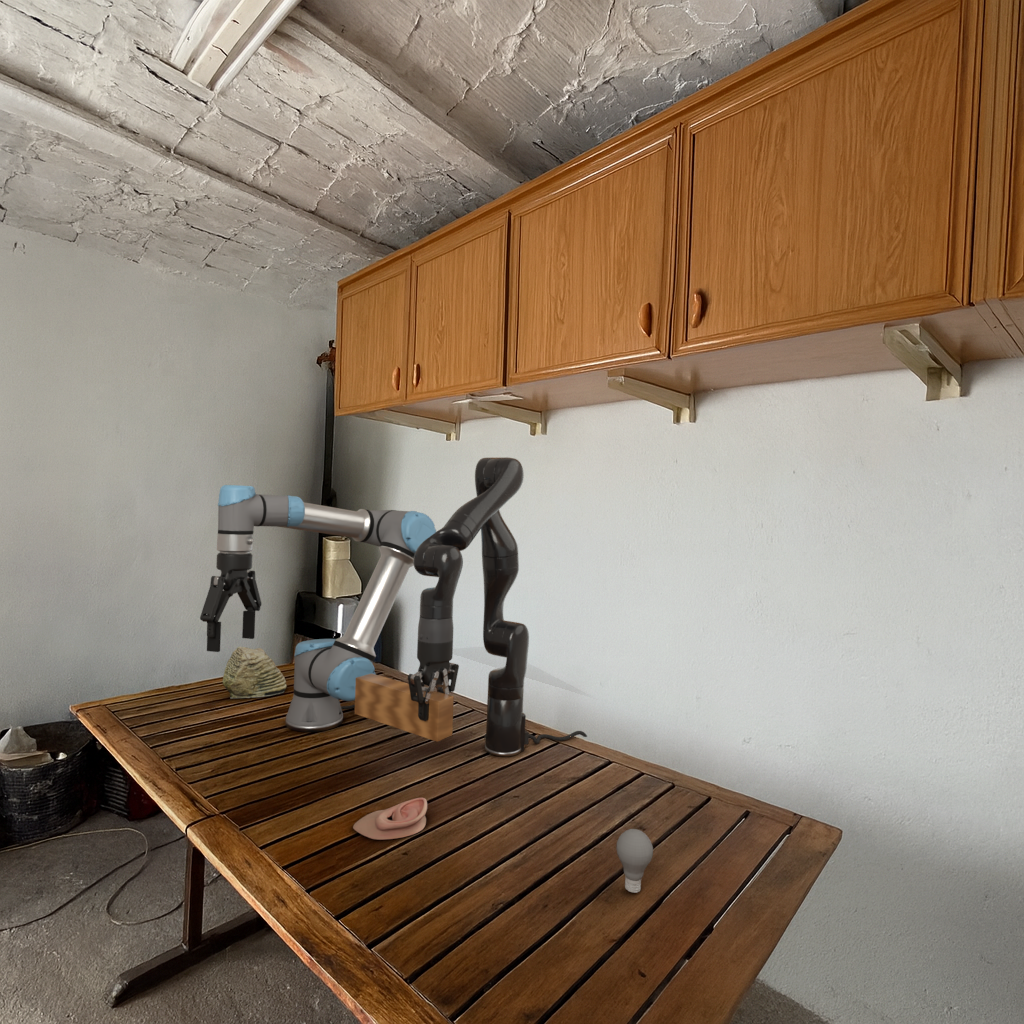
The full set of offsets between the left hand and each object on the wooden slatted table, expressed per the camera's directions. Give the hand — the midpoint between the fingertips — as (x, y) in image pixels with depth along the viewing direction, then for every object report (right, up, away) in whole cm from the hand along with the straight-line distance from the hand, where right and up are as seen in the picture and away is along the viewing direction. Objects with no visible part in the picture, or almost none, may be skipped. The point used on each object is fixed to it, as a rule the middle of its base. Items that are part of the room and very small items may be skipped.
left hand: (231, 644), depth 146 cm
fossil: (-16, -27, +52) cm, 61 cm away
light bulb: (+85, -33, -40) cm, 99 cm away
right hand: (+48, -13, -10) cm, 50 cm away
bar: (+40, -17, -5) cm, 44 cm away
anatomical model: (+41, -31, -22) cm, 56 cm away
